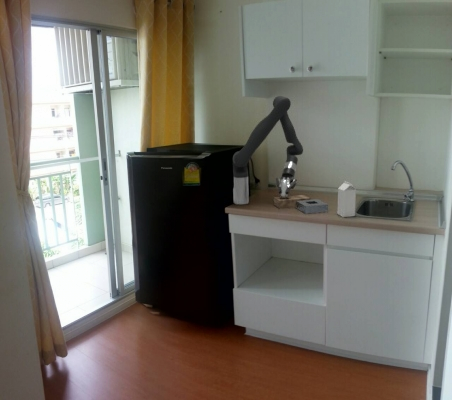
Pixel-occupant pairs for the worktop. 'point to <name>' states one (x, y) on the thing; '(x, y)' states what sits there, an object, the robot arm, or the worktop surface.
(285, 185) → the axle
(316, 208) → the holder
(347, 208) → the milk carton
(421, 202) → the worktop surface
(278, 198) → the wooden block with hole
